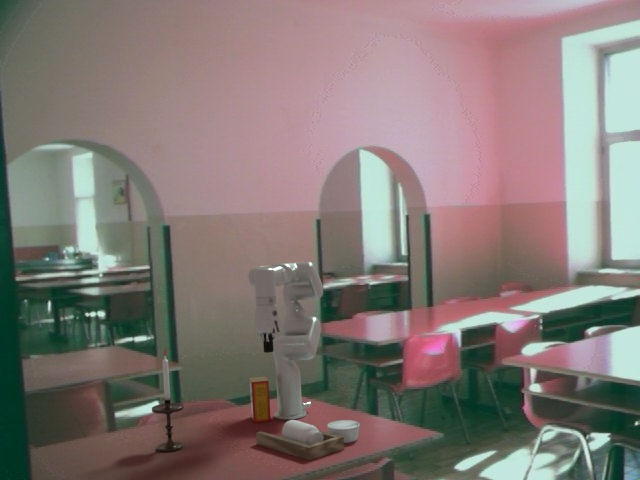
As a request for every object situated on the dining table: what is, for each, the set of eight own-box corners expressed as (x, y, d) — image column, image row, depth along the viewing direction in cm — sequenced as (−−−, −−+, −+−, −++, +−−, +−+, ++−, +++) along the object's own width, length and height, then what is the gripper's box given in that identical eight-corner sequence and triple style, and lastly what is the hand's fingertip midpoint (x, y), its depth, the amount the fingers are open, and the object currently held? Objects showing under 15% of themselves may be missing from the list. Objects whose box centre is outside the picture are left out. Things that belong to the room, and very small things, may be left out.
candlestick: (191, 443, 250) (185, 344, 250) (177, 453, 239) (171, 349, 239) (163, 443, 253) (157, 344, 252) (148, 452, 242) (142, 350, 242)
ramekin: (357, 444, 238) (356, 428, 238) (325, 444, 241) (324, 428, 240) (362, 434, 249) (361, 419, 249) (331, 434, 251) (330, 420, 251)
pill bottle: (303, 433, 248) (330, 442, 236) (286, 447, 243) (313, 457, 232) (294, 414, 246) (321, 422, 234) (277, 428, 241) (303, 437, 229)
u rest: (290, 434, 255) (289, 423, 255) (344, 448, 234) (343, 436, 234) (256, 444, 245) (256, 432, 245) (310, 460, 224) (309, 447, 224)
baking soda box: (251, 417, 283) (249, 376, 282) (268, 415, 284) (265, 375, 284) (253, 423, 273) (251, 381, 273) (270, 421, 274) (268, 379, 274)
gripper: (286, 301, 256) (289, 352, 256) (261, 300, 267) (264, 348, 268) (270, 303, 251) (273, 355, 251) (245, 302, 262) (248, 351, 263)
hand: (268, 351), depth 259 cm, fingers closed
